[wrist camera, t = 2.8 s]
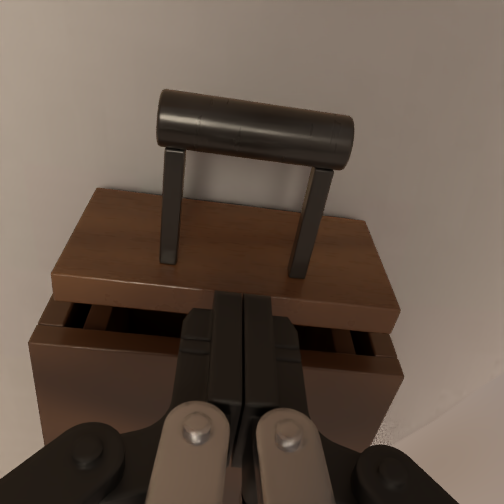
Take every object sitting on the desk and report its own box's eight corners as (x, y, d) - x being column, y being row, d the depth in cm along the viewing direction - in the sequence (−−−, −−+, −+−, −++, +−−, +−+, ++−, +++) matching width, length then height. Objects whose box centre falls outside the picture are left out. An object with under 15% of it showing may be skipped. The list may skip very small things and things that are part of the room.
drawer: (90, 38, 17) (28, 88, 12) (410, 87, 18) (472, 151, 13) (104, 407, 28) (75, 508, 23) (297, 422, 29) (308, 522, 25)
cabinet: (89, 218, 22) (27, 342, 16) (360, 249, 23) (405, 377, 17) (99, 427, 31) (62, 560, 24) (294, 441, 32) (307, 572, 26)
